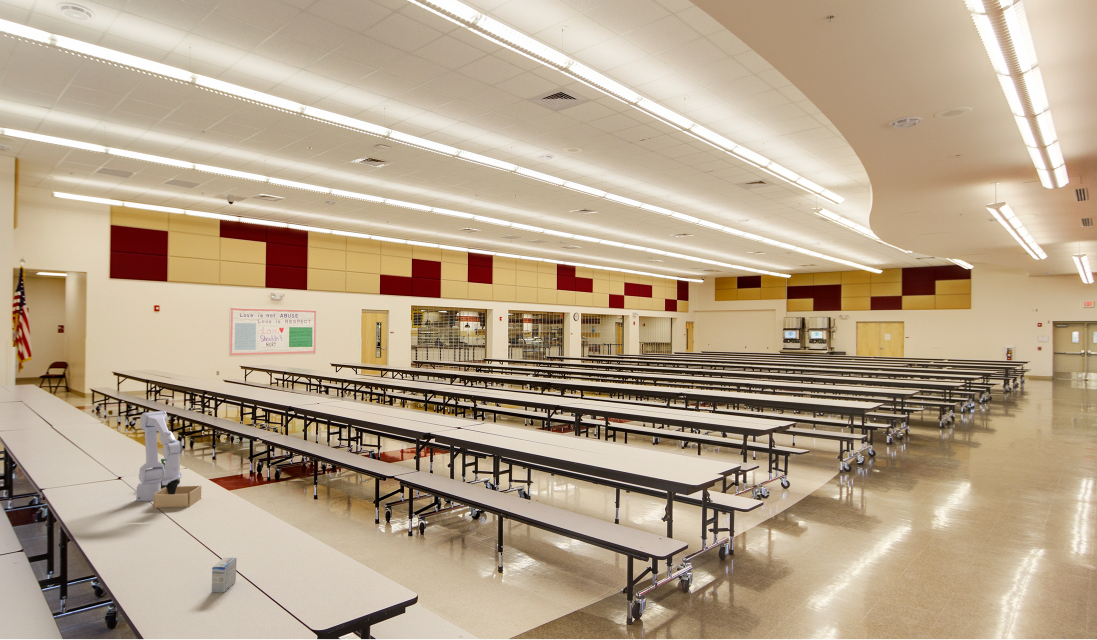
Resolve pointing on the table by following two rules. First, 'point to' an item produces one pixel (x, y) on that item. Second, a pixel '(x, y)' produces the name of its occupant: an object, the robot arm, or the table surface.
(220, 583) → the medicine box
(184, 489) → the carton
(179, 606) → the table surface
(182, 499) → the flap
